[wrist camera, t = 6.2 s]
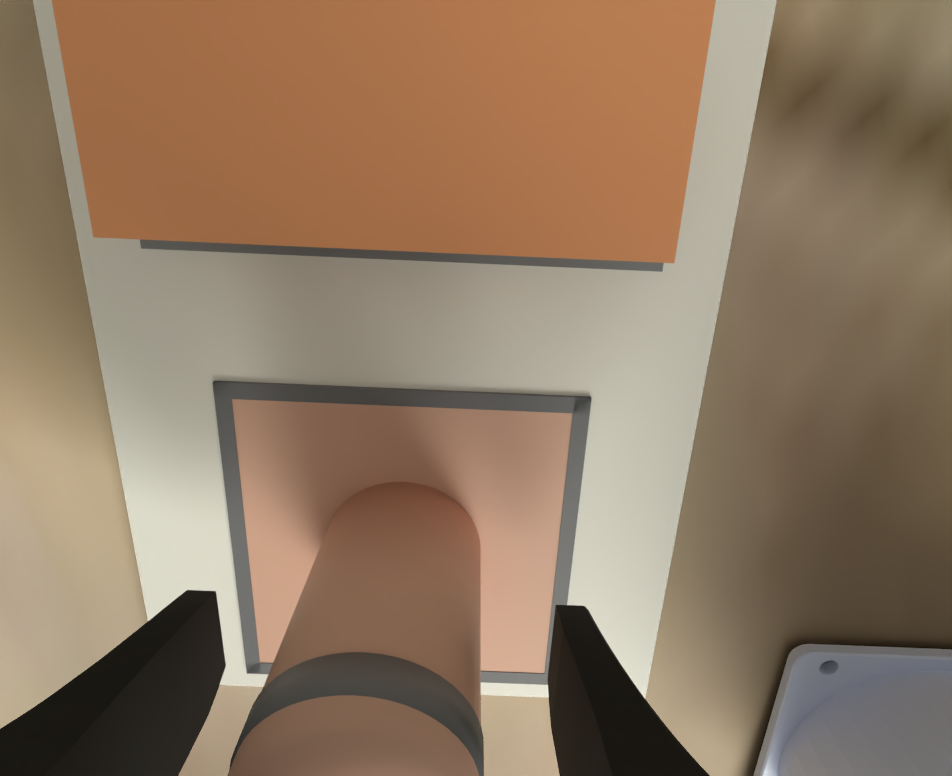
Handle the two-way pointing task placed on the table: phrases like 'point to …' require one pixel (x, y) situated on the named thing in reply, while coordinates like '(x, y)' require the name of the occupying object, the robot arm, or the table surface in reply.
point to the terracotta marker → (378, 648)
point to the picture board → (419, 399)
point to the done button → (389, 122)
